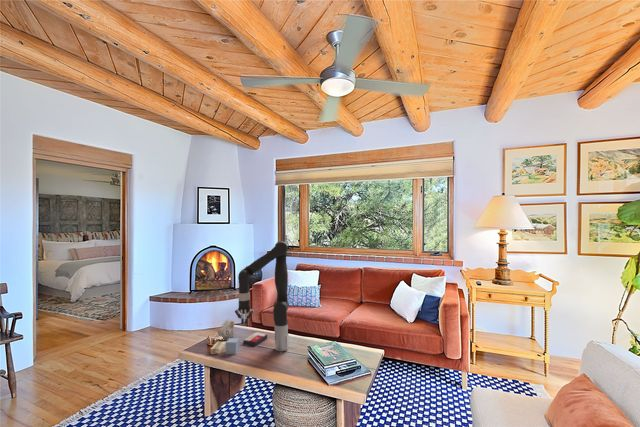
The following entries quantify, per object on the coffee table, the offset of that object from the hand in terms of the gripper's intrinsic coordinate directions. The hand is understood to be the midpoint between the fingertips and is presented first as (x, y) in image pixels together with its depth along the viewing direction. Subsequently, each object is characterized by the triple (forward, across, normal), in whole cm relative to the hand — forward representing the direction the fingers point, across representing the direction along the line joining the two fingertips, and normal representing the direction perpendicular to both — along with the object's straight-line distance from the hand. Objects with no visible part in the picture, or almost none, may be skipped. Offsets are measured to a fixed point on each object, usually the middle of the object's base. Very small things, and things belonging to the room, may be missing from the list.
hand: (244, 324), depth 206 cm
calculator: (+20, -3, -18) cm, 27 cm away
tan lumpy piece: (+19, +20, -2) cm, 27 cm away
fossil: (+19, +22, -22) cm, 37 cm away
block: (+19, +8, 0) cm, 21 cm away
